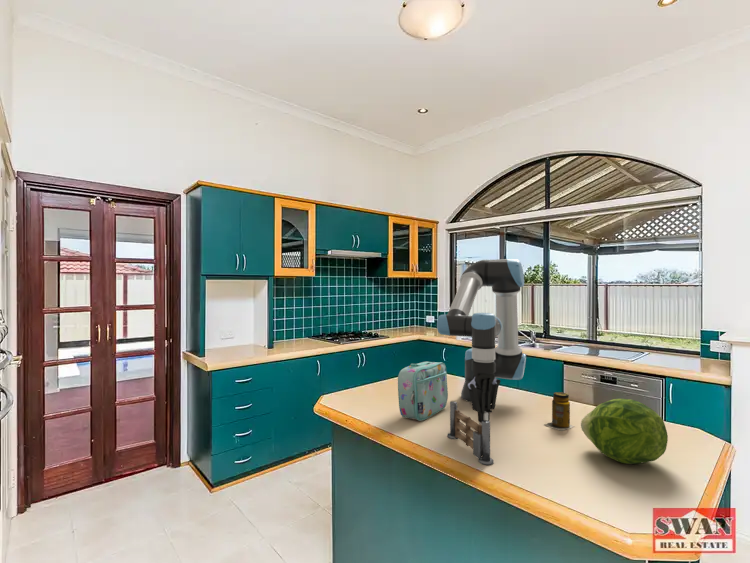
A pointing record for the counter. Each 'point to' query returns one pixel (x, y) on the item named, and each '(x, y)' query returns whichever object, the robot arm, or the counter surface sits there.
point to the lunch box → (422, 390)
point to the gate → (465, 428)
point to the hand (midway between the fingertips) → (483, 431)
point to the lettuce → (626, 431)
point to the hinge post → (452, 420)
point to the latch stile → (482, 444)
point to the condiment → (560, 412)
